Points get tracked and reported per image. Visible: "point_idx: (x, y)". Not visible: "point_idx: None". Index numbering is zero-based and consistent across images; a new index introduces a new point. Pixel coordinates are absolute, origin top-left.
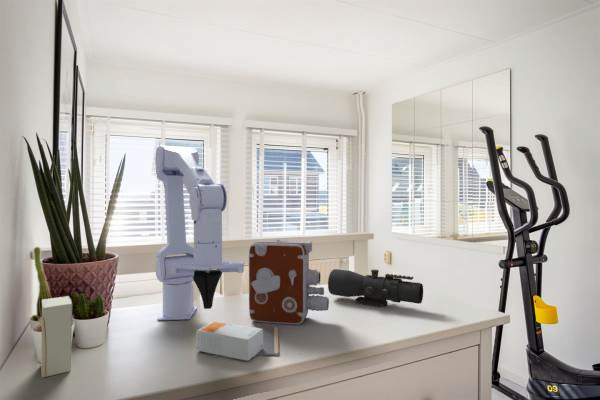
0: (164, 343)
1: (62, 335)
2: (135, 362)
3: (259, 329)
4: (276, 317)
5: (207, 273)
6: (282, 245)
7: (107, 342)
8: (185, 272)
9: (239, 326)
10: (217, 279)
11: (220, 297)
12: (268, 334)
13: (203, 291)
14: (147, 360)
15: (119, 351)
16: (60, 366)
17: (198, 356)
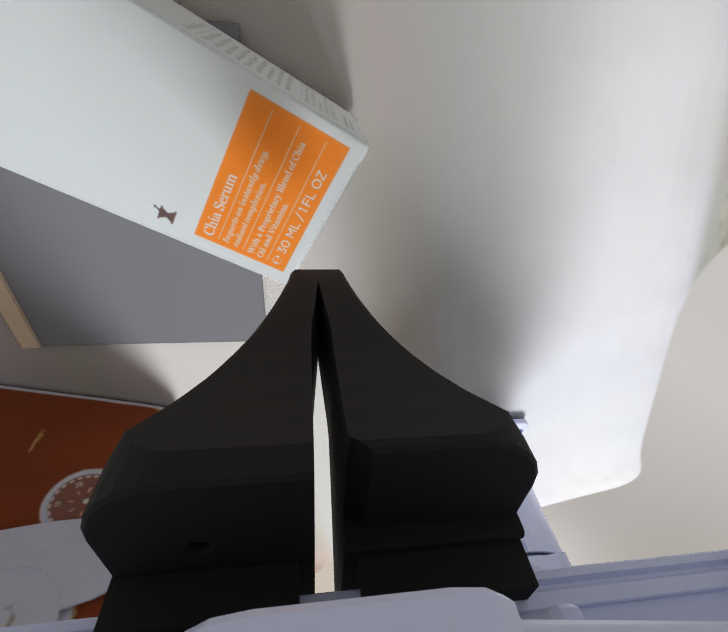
0: (502, 237)
1: None
2: (633, 33)
3: None
4: (42, 410)
5: (341, 583)
6: None
7: (700, 264)
8: (637, 566)
9: (91, 180)
10: (122, 438)
11: None
12: (37, 281)
13: (355, 339)
14: (579, 50)
15: (676, 175)
16: None
17: (338, 62)
